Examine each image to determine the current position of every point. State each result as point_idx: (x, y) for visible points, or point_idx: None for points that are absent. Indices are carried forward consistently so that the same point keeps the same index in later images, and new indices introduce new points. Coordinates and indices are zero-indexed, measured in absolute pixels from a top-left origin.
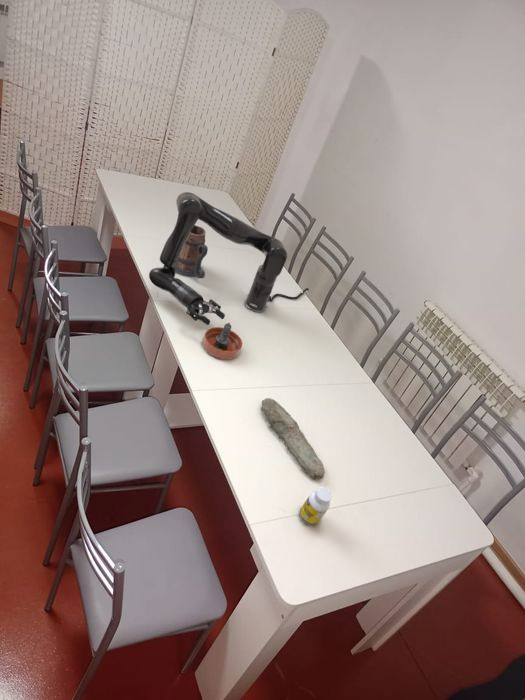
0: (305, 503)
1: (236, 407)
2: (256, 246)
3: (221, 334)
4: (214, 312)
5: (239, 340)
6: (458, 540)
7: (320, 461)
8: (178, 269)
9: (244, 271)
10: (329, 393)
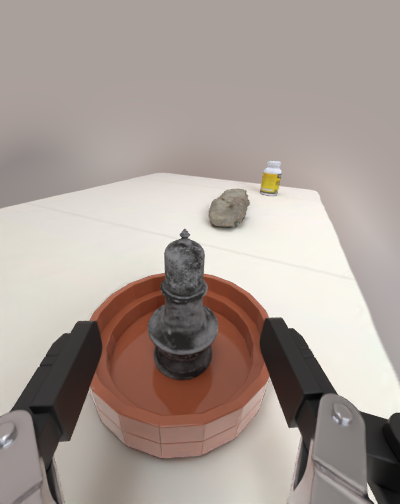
0: (278, 181)
1: (275, 240)
2: None
3: (201, 305)
4: (53, 477)
5: (115, 302)
6: (178, 175)
7: (227, 190)
8: None
9: None
10: (102, 212)
